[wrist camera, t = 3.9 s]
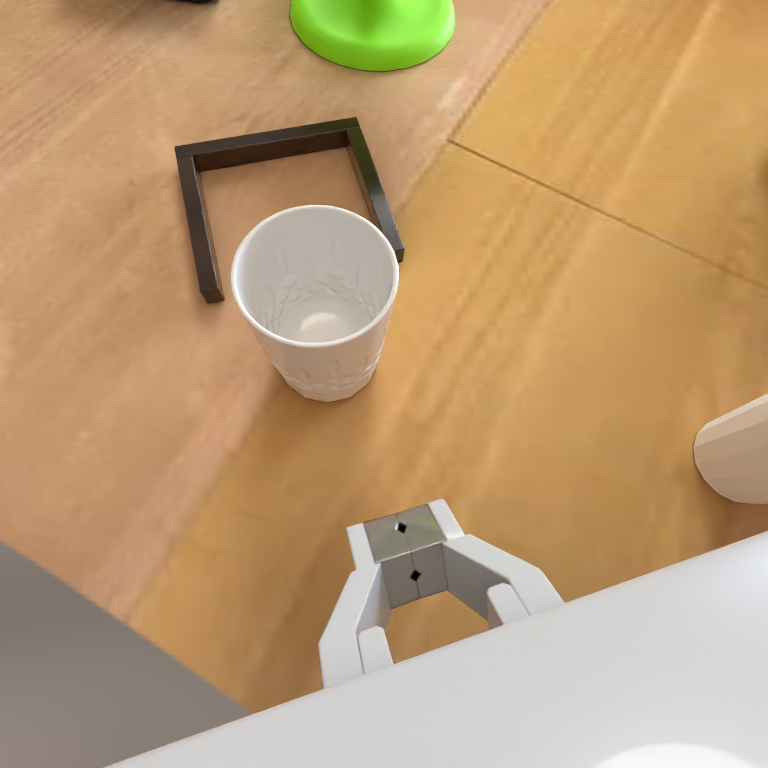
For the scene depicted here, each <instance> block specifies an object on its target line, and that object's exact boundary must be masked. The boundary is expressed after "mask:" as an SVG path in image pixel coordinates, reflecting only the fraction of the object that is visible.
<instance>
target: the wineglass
mask: <svg viewBox="0 0 768 768" xmlns="http://www.w3.org/2000/svg"><path fill="white" fill-rule="evenodd" d="M290 19H291V22H292V25H293V29H294V31H295V32H296V34H297V35H298V36H299V38H300V39H301V40H302V42H303V43H304V44H305V45H306V46H308V47H309V48H310V49H312V50H313V51H314V52H315V53H317V54H318V55H319V56H321V57H323V58H326V59H328V60H330V61H332V62H334V63H337V64H339V65H342V66H347V67H351V68H355V69H359V70H370V71H390V70H397V69H404V68H409V67H412V66H414V65H417V64H420V63H422V62H425V61H427V60H429V59H430V58H432V57H433V56H435V55H436V54H437V53H439V52H440V51H442V49H443V48H444V47H445V45H446V44H447V43H448V42H449V40H450V39H451V37H452V33H453V30H454V27H455V17H454V8H453V4H452V2H451V0H291V4H290Z"/></svg>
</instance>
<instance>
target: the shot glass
mask: <svg viewBox="0 0 768 768" xmlns="http://www.w3.org/2000/svg"><path fill="white" fill-rule="evenodd" d="M693 450H694V457H695V464H696V466H697V468H698V470H699V471H700V473H701V475H702V477H703V479H704V481H705V482H706V483H708V484H709V485H710V486H711V487H712V488H713V489H714V490H715V491H716V492H717V493H718V494H720V495H722V496H724V497H726V498H728V499H730V500H732V501H734V502H740V503H749V504H768V394H766V395H764V396H761V397H759V398H757V399H755V400H753V401H751V402H749V403H747V404H745V405H743V406H741V407H739V408H737V409H735V410H733V411H731V412H729V413H727V414H725V415H723V416H721V417H719V418H717V419H715V420H713V421H711V422H708V423H706V425H705V426H704V427H703V428H702V429H701V430H700V431H699V432H698V433H697V435H696V439H695V442H694V446H693Z"/></svg>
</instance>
